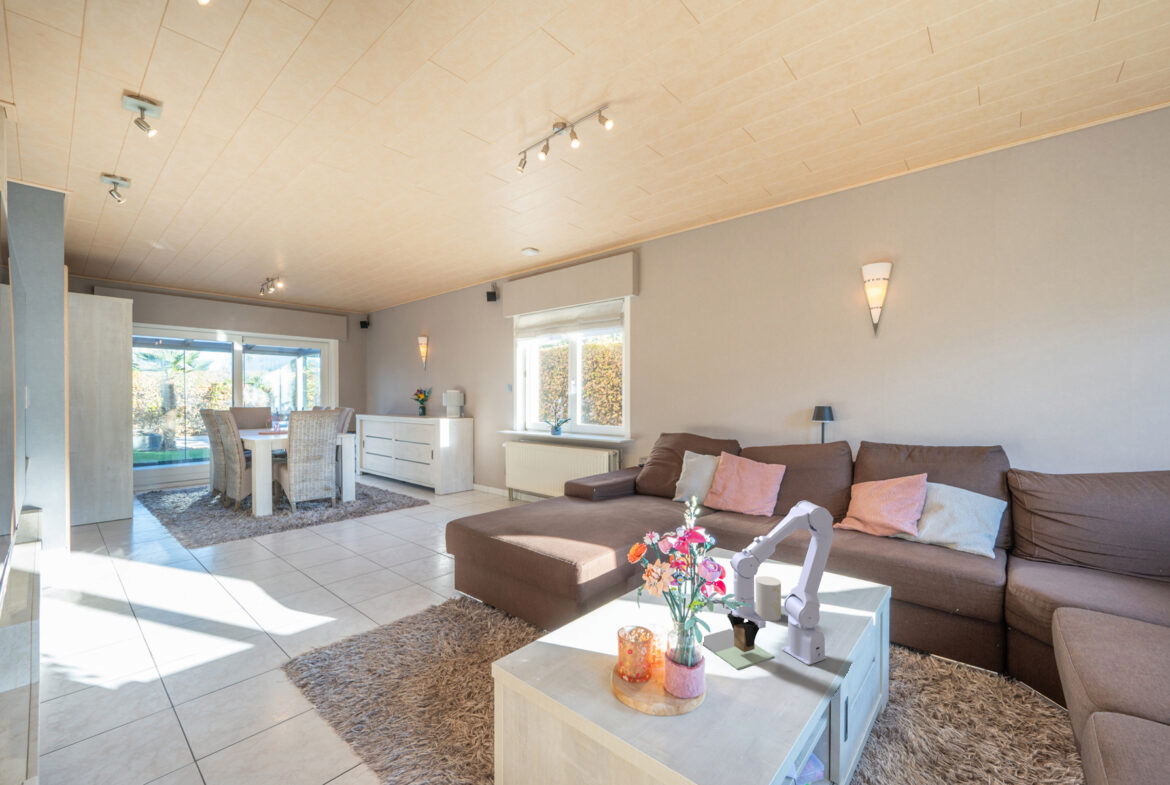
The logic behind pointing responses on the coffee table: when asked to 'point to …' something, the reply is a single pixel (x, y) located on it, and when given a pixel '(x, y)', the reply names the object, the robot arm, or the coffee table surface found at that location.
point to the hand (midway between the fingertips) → (744, 642)
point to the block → (741, 638)
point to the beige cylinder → (768, 598)
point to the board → (733, 650)
